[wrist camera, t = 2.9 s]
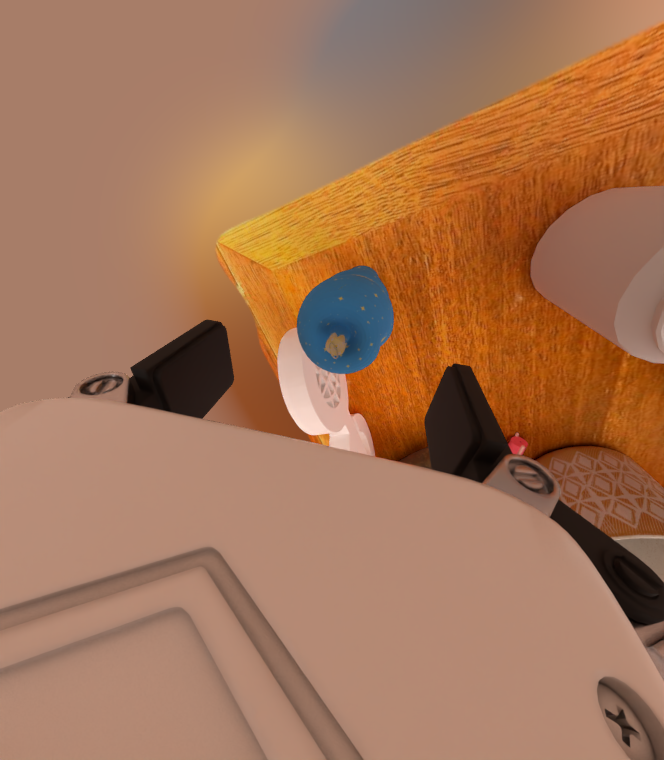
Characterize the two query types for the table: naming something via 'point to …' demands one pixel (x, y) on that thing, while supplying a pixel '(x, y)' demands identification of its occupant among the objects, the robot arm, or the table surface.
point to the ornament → (345, 321)
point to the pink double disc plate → (319, 399)
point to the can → (609, 267)
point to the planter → (613, 498)
